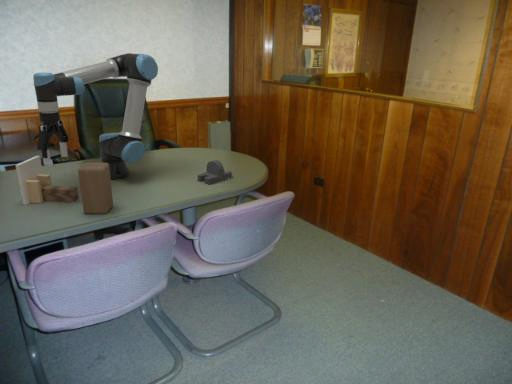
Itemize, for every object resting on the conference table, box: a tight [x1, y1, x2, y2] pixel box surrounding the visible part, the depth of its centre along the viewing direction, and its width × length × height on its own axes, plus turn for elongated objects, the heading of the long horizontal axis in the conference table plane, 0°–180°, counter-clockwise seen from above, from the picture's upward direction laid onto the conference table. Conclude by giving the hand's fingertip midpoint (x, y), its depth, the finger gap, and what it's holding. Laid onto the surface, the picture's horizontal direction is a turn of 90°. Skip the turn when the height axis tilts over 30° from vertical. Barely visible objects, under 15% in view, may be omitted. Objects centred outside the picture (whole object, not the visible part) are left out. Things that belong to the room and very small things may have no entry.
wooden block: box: [77, 162, 114, 215], centre depth 161 cm, size 10×10×20 cm
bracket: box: [197, 159, 233, 186], centre depth 206 cm, size 10×18×11 cm, turn 140°
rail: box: [41, 185, 80, 203], centre depth 171 cm, size 18×4×6 cm, turn 87°
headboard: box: [15, 155, 53, 206], centre depth 170 cm, size 6×15×18 cm, turn 177°
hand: (56, 160), depth 166 cm, fingers open, 13 cm apart
